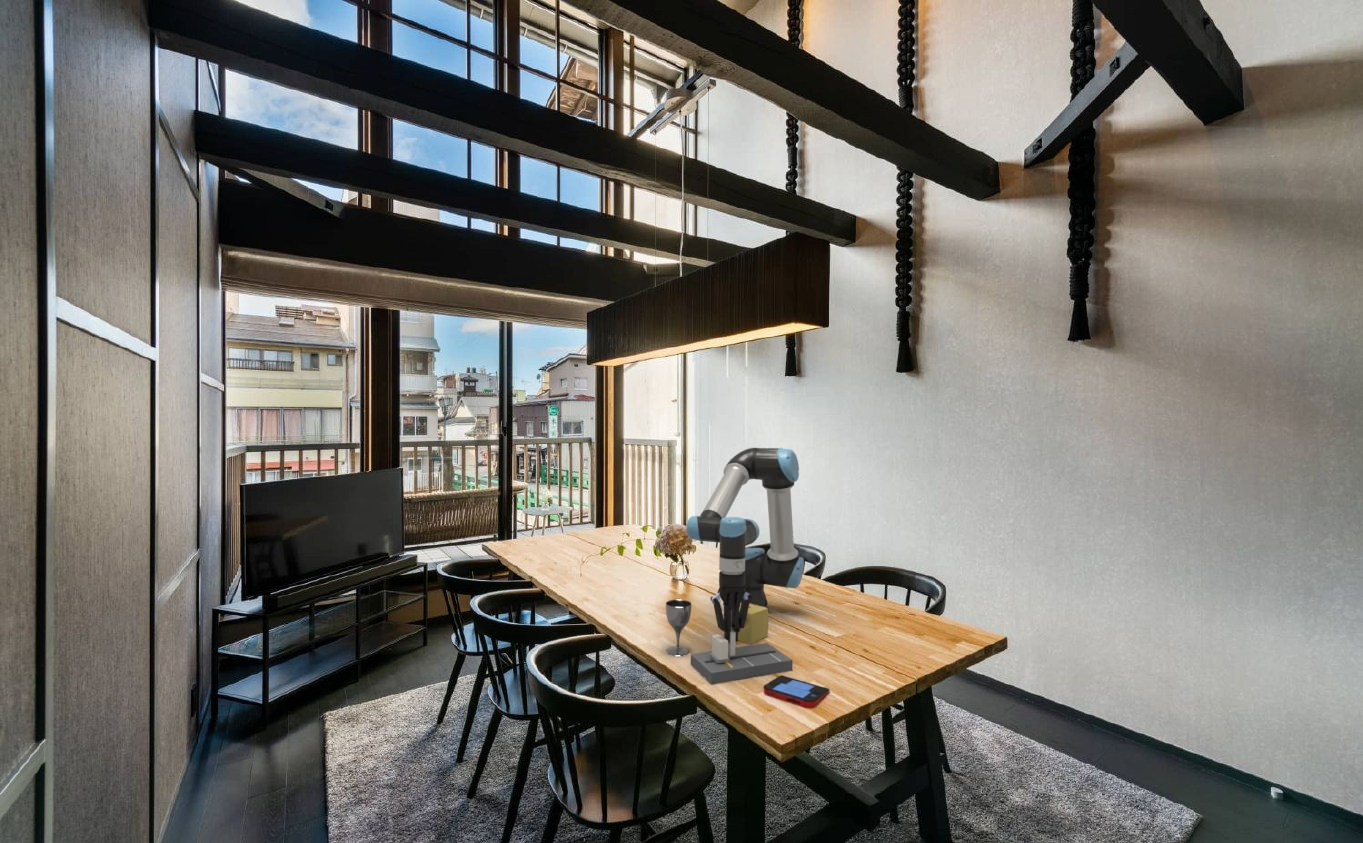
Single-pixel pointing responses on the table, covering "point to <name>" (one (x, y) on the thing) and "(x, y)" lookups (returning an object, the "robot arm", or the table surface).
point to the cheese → (754, 624)
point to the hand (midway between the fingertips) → (730, 653)
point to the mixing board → (742, 663)
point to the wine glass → (678, 621)
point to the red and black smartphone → (795, 691)
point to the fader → (719, 649)
